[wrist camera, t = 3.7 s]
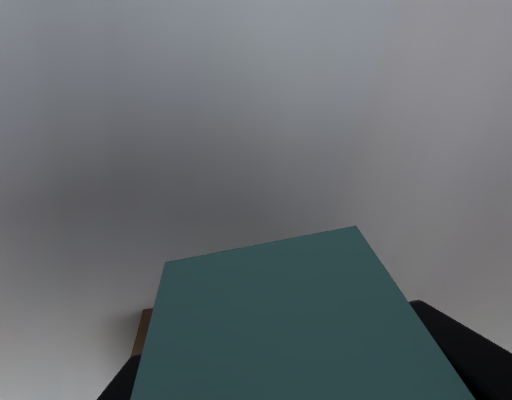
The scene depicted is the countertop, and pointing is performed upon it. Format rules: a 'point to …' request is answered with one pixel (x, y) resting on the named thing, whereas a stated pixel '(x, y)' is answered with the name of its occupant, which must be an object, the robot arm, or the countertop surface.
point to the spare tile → (290, 328)
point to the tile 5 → (142, 332)
